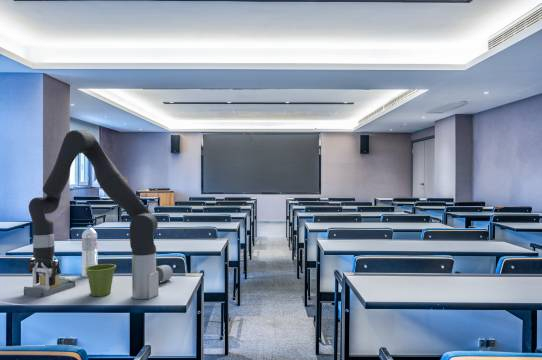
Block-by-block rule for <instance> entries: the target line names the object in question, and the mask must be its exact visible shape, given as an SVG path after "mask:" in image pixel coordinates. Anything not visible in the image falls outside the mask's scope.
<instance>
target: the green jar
mask: <svg viewBox="0 0 542 360" xmlns="http://www.w3.org/2000/svg"><path fill="white" fill-rule="evenodd" d="M69 280H70V278H69V277H68V278H67V277H65V276H61V277H60V276H59V286H62V285H66V284H69Z"/></svg>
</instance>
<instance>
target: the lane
mask: <svg viewBox="0 0 542 360" xmlns="http://www.w3.org/2000/svg"><path fill="white" fill-rule="evenodd" d="M72 288H76V280H73V279H69V284H66V285H62V286H59V287H56V288H53V289H50V290H47V291H44V289H43V288H34V287H33V286H23V296H25V297H33V298H34V297H35V298H42V299H43V298H46V297H49V296H52V295H55V294H58V293H60V292H64V291H67V290H69V289H72Z"/></svg>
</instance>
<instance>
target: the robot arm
mask: <svg viewBox="0 0 542 360" xmlns="http://www.w3.org/2000/svg"><path fill="white" fill-rule="evenodd" d="M79 154H83V155H84V156H85V158H86V159H87V160H88V161H89V163H90V164H91V165H92V167H93V170H94V175H95V178H96V182H97V184H98V185H99V186H100V188H101V189H102V191H103V192H104V193H105V195H106V196H107V197H108V198H109V199H111V201H112V202H114V203H115V204H116V205H118V206H119V207H120V208H122V210H124V211H125V212H126V213H127V214H128V216H129V217H130V219H131V221H130V223H129V245H130V249H131V285H132V286H131V287H132V289H131V290H132V291H131V292H132V293H131V297H132V298H133V299H135V300H147V299H148V300H150V299H153V298H155V297H156V296H158V295H159V292H160V291H159V284H158V271H156V267H157V247H156V244H155V242H154V241H155V238H154V237H155V236H154V235H155V234H154V233H155V232H156V231H157V228H158V227H159V226H158V224H159V223H158V220H157V217H156V216H155V215H154V214H153V212H151V210H149V209H148V207H147V206H145V204H144V203H143V202H142V201H141V200H140V198H139V197H138V195H137V193H135V191H134V189H133V188H132V187H131V186H130V184H129V182H128V181H127V180H126V179H125V177H124V176H123V174H122V173H121V172H120V171H119V169H118V168H117V167H116V166H115V164H114V163H113V162H112V161H111V159H110V158H109V157H108V156H107V154H106V153H105V151H104V149H103V148H102V146H101V145H100V142H99V141H98V139H97V137H96V136H95V135H94V134H93V133H92V132H91V131H88V130H83V129H82V130H81V129H74V130H70V131H68V132H67V133H66V134H65V136H64V138H63V141H62V143H61V145H60V149H59V151H58V155H57V156H56V157H57V158H56V160H55V163H54V166H53V167H52V170H51V172H50V174H49V175H48V177H47V179H46V180H45V183H44V185H43V187H42V192H43V194H45V196H41V197H40V196H39V197H33V198H32V199H31V200H30V201H29V203H28V212H29V215H30V216H29V217H30V218H31V221H32V225H33V240H32V258H29V259H28V274H31V275H32V276H33V268H35V271H36V269H37V268H44V270H45V272H46V269H49V270H48V272H49V276H50V277H49V286H53V285H55V276H56V275H58V274H59V275H60V273H61V271H60V270H61V269H60V260H59V259H55V260H54V258H53V257H54V256H55V235H54V221H53V220H52V219H47V217H46V214H47V215H49V214H53V213H54V212H56V211H57V209H58V208H59V206H60V201H61V197H62V193H63V192H64V189H65V188H66V186H67V184H68V183H69V180H70V177H71V167H72V165H73V162H74V160H75V159H77V157H78V155H79ZM51 272H52V273H51ZM36 284H38V285H39V284H40V272H36Z"/></svg>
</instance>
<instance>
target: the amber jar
mask: <svg viewBox="0 0 542 360" xmlns="http://www.w3.org/2000/svg"><path fill="white" fill-rule="evenodd" d="M51 273H52V272H51ZM49 277H50V276H49ZM59 277H60V274H58V275H56V276H55V285H53V286H49V290H50V289H53V288H56V287H59ZM39 285H46V272H42V274H39Z"/></svg>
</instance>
